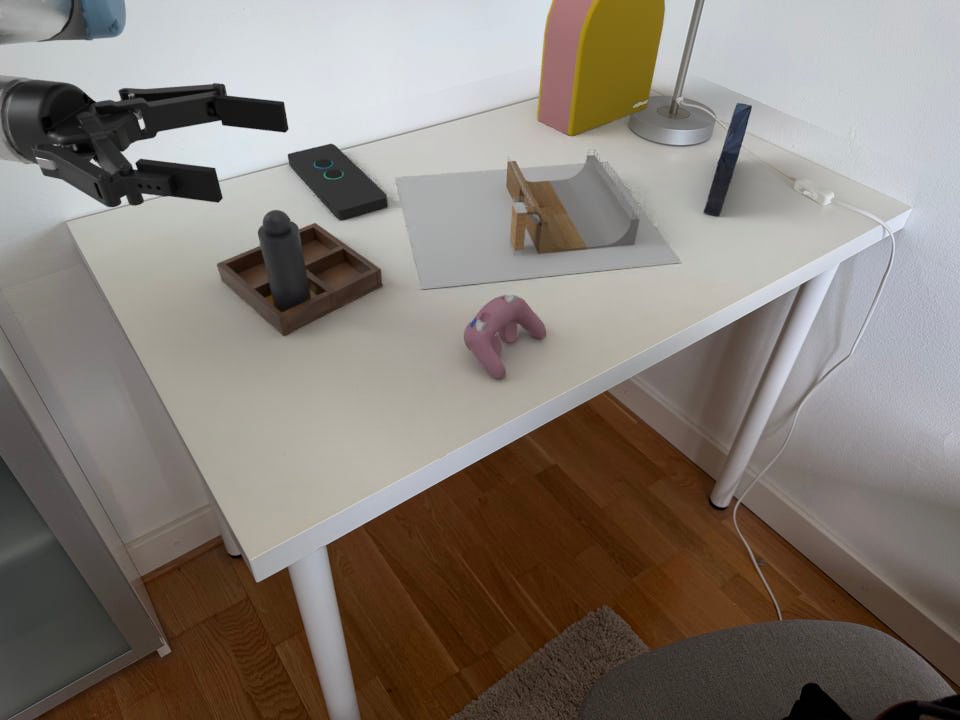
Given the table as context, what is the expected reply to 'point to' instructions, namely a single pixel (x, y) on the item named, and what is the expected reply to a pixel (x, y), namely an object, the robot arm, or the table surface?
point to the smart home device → (337, 181)
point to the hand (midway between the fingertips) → (254, 148)
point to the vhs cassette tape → (728, 159)
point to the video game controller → (500, 330)
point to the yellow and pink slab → (597, 61)
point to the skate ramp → (526, 224)
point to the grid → (329, 273)
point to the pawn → (283, 260)
